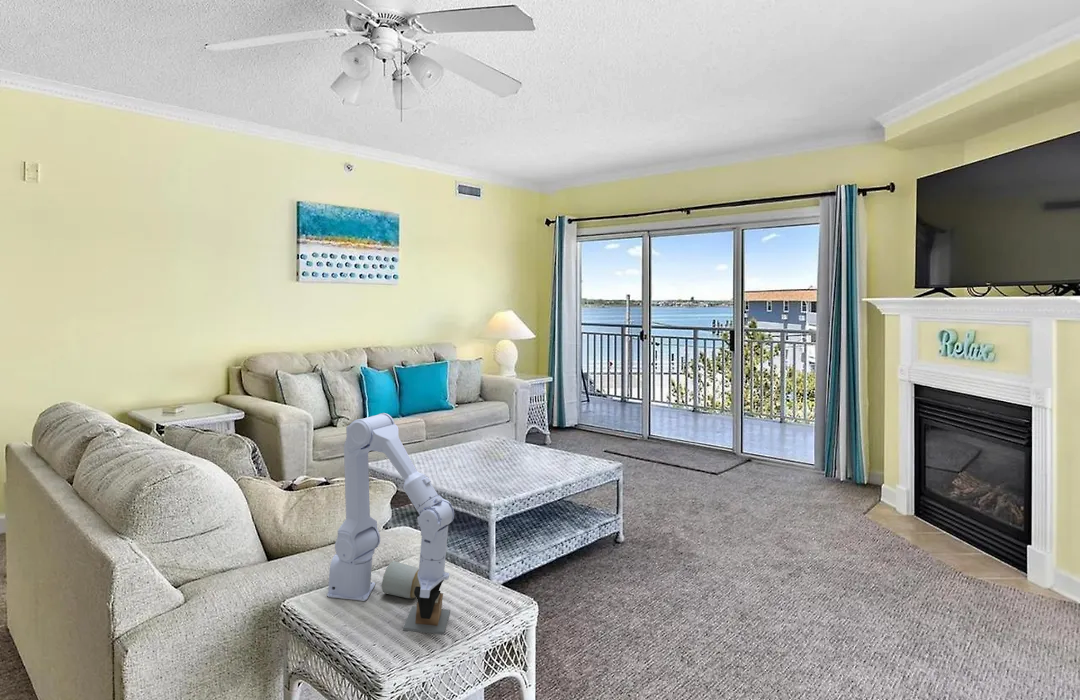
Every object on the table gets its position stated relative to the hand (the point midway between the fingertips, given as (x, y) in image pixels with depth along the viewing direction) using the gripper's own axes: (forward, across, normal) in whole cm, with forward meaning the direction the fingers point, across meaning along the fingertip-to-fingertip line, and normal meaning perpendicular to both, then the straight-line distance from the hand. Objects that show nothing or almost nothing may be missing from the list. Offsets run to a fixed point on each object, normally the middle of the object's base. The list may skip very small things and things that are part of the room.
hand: (428, 611), depth 142 cm
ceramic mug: (+3, +12, +8) cm, 14 cm away
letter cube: (+2, 0, 0) cm, 2 cm away
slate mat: (+2, 0, 0) cm, 2 cm away
